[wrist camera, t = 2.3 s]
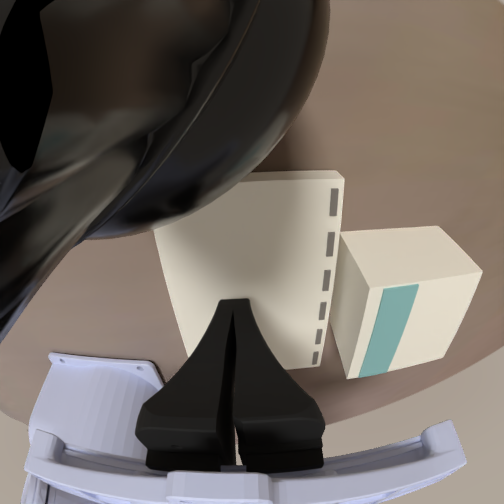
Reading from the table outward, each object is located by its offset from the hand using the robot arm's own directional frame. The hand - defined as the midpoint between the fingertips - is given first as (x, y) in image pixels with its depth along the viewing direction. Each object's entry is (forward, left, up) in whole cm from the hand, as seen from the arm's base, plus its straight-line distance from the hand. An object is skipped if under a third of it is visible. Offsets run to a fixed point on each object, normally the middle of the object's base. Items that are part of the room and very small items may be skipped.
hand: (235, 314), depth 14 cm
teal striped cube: (+8, 0, -2) cm, 9 cm away
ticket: (+1, 0, -2) cm, 2 cm away
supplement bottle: (-1, +11, -2) cm, 11 cm away
